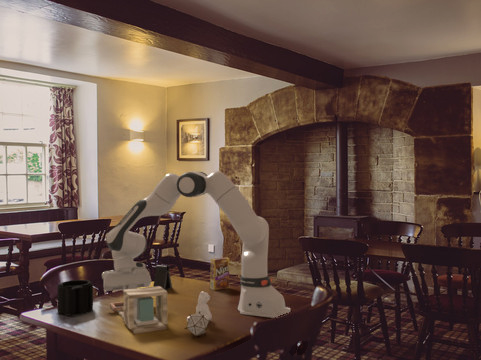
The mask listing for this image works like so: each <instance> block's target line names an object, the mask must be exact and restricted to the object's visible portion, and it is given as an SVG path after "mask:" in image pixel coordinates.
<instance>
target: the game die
mask: <svg viewBox="0 0 481 360" xmlns="http://www.w3.org/2000/svg"><path fill="white" fill-rule="evenodd" d="M188 315H189V316H190V319H188V320H189V322H188V321H187V325H186V327H184V330H186V329H187V330H188V331H189V332H190V333H191V335H193V336H195V337H194V339H197V337H198V336H201V335H203V334H204V336H206V335H207V333H206V332H207V331H209V329H208V325H209V323H210V322H211V321H212V319H211V320H209V321H208V320H207V319H206V318H205V317H204V315H203V316H202V315H201V314H200V311H199V314H196V313H194V314H188ZM191 315H192V316H191ZM208 322H209V323H208Z"/></svg>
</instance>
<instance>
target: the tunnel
mask: <svg viewBox="0 0 481 360" xmlns="http://www.w3.org/2000/svg"><path fill="white" fill-rule="evenodd" d="M123 291H124V292H123ZM123 291H122V292H123V302H124V310H123V309H117V312H116V313H117V314H118V315H119V316H120V318H121V319H122V320H123V323H124V324H125V325H126V327H127V328H128V330H131V331H132V333H133V334H142V333H143V334H144V333H149V332H156V331H158V332H159V331H164V330H168V326H167V325H168V290H164V289H163V288H162V287H160V286H156V287H153V286H149V287H140V288H136V289H126V290H123ZM142 297H155V314H154V316H155V317H156V318H157V319H158V323H156V324H148V325H141V326H137V325H136V324H135V323H134V298H142Z"/></svg>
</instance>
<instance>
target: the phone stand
mask: <svg viewBox="0 0 481 360" xmlns="http://www.w3.org/2000/svg"><path fill="white" fill-rule="evenodd" d="M156 286H160V287H162V288H163V289H164V290H166V291H168V290H170V289H172V288H173V284H172V280H171V274H170V266H169V265H162V264H157V265H155V276H154V281H153V286H152V287H156Z"/></svg>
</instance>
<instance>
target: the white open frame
mask: <svg viewBox="0 0 481 360" xmlns="http://www.w3.org/2000/svg"><path fill="white" fill-rule="evenodd" d="M136 288H137V284H136V283H133V284H128V289H136ZM122 309H123V310H124V306H122ZM154 311H155V310H154V297H153V296H151V297H142V298H134V323H135V324H136V325H137V326H141V325H148V324H156V323H158V319H157V318H156V317H155V316H156V315H155V314H154V313H155V312H154ZM154 315H155V316H154Z"/></svg>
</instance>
